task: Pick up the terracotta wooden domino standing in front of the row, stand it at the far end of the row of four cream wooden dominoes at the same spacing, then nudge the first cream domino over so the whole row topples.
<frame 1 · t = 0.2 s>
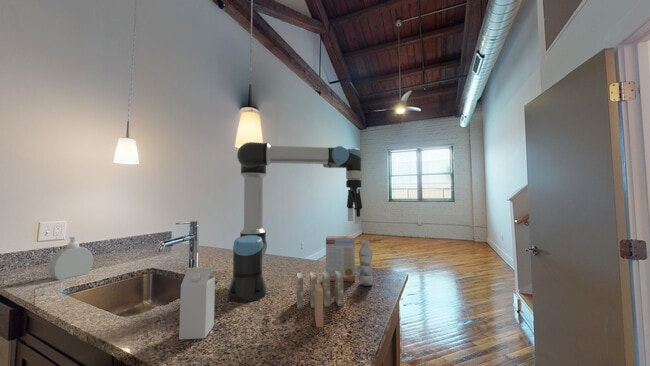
hand: (354, 222, 125), 28 cm above the worktop, tool pointing down, fingers open, 13 cm apart
soap bottle: (70, 276, 129), on the worktop
domino 2: (313, 304, 94), on the worktop
domino 1: (299, 305, 94), on the worktop
domino end: (318, 322, 80), on the worktop
plastic bottle: (366, 285, 115), on the worktop
domino 4: (339, 302, 96), on the worktop
cracker box: (340, 280, 122), on the worktop
milk carton: (197, 333, 74), on the worktop
domino 3: (326, 303, 95), on the worktop
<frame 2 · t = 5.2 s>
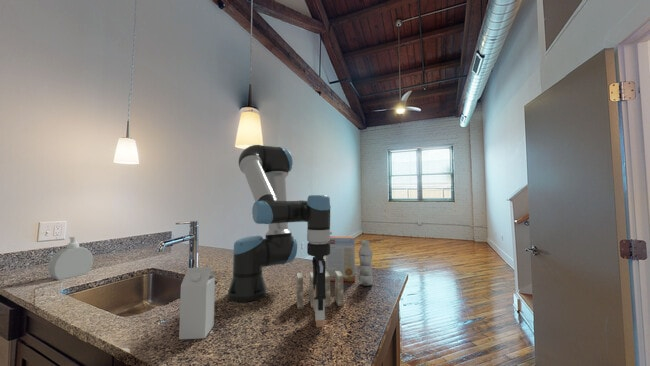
hand: (318, 314, 81), 2 cm above the worktop, tool pointing down, fingers closed on domino end, 6 cm apart
domino end: (318, 322, 80), on the worktop, touching gripper
everything else where it was.
when the fingers open (3 cm above the worktop, at t = 12.5 s): domino end stays where it is, on the worktop.
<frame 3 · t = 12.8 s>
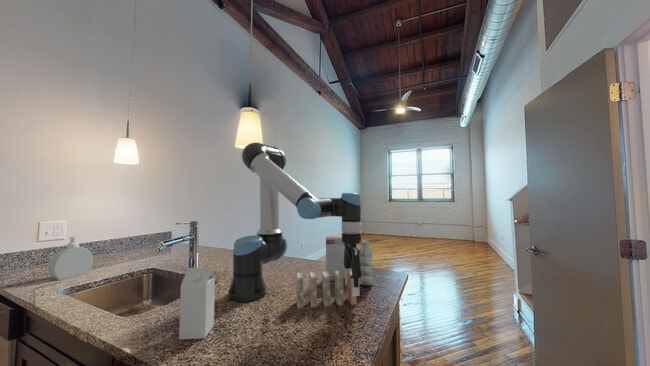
hand: (351, 290, 97), 4 cm above the worktop, tool pointing down, fingers open, 10 cm apart
domino end: (351, 301, 96), on the worktop
everything else where it was.
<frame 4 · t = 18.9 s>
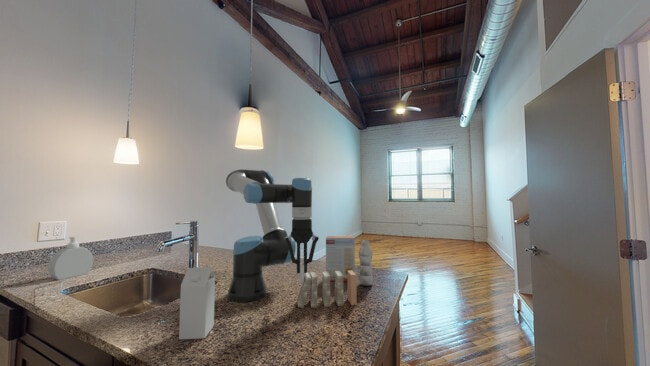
hand: (301, 281, 94), 9 cm above the worktop, tool pointing down, fingers closed
domino 2: (313, 304, 94), on the worktop, touching domino 1
domino 1: (299, 304, 94), on the worktop, tilted 17°, touching domino 2, gripper
everything else where it was.
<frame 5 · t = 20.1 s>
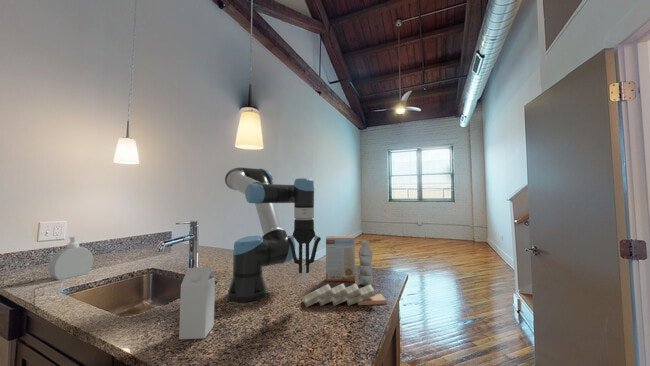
hand: (303, 281, 94), 8 cm above the worktop, tool pointing down, fingers closed
domino 2: (319, 300, 95), point 1 cm above the worktop, tilted 68°, touching domino 1, domino 3
domino 1: (304, 301, 94), point 1 cm above the worktop, tilted 68°, touching domino 2
domino end: (356, 300, 96), on the worktop, tilted 90°, touching domino 4
domino 4: (346, 299, 96), point 1 cm above the worktop, tilted 70°, touching domino end
domino 3: (332, 300, 95), point 1 cm above the worktop, tilted 68°, touching domino 2
everything else where it was.
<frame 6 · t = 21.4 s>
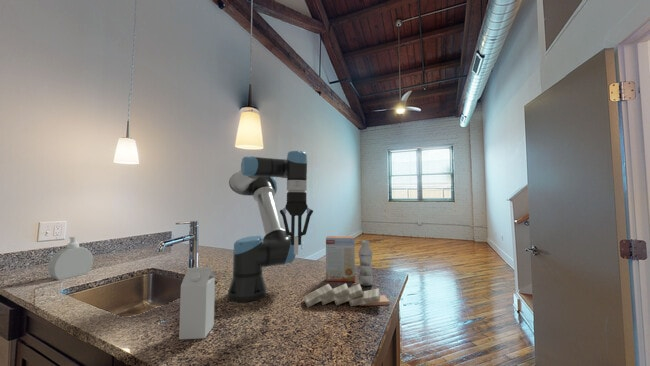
hand: (295, 253, 95), 19 cm above the worktop, tool pointing down, fingers closed
domino 2: (321, 299, 96), point 1 cm above the worktop, tilted 68°, touching domino 1, domino 3
domino end: (358, 301, 96), on the worktop, tilted 90°, touching domino 4
domino 4: (351, 299, 95), point 1 cm above the worktop, tilted 74°, touching domino 3, domino end
domino 3: (335, 299, 96), point 1 cm above the worktop, tilted 68°, touching domino 2, domino 4
everything else where it was.
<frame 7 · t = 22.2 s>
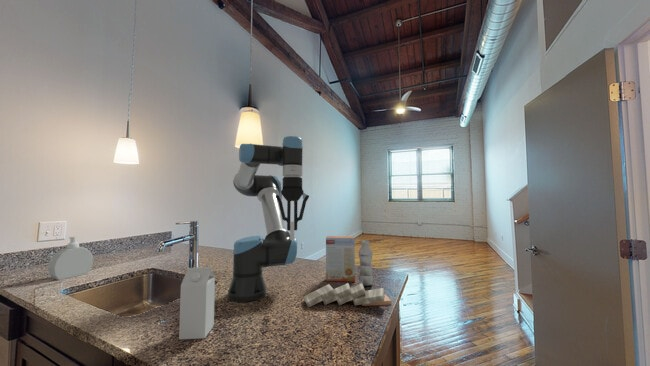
hand: (292, 239, 95), 24 cm above the worktop, tool pointing down, fingers closed
domino 4: (355, 298, 95), point 2 cm above the worktop, tilted 75°, touching domino 3, domino end
domino 3: (337, 299, 96), point 1 cm above the worktop, tilted 66°, touching domino 2, domino 4
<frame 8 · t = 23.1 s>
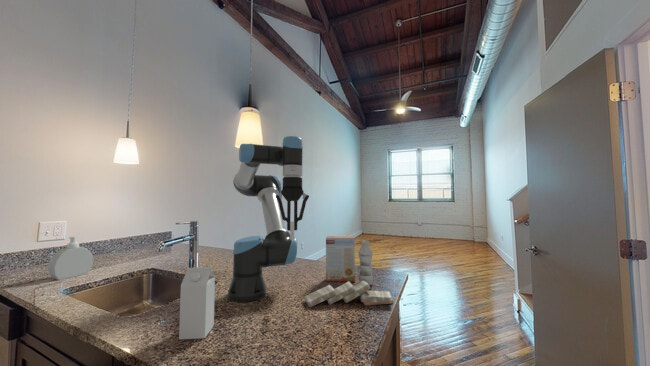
hand: (292, 239, 95), 24 cm above the worktop, tool pointing down, fingers closed
domino 2: (327, 299, 96), point 1 cm above the worktop, tilted 66°, touching domino 1, domino 3
domino 4: (361, 295, 96), point 2 cm above the worktop, tilted 90°, touching domino 3, domino end
domino 3: (342, 298, 96), point 1 cm above the worktop, tilted 66°, touching domino 2, domino 4
at the end: domino end tilted 90°; domino 4 tilted 90°; domino end inside the target area (0.8 cm from its centre), on the worktop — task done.
